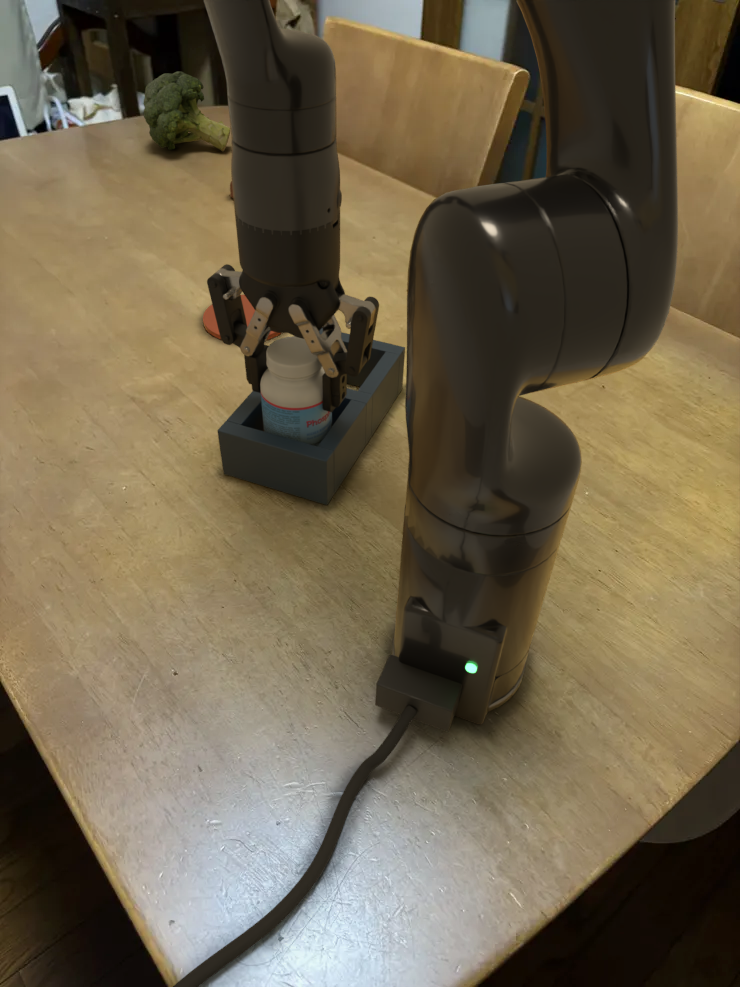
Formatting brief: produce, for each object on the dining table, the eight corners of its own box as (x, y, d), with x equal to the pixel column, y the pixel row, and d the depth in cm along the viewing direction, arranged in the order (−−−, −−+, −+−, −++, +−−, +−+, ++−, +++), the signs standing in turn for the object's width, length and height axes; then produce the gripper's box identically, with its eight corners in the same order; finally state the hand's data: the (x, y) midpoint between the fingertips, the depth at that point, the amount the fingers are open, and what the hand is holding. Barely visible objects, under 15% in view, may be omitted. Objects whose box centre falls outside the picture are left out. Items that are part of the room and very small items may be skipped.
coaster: (265, 351, 82) (265, 346, 82) (186, 331, 84) (185, 326, 84) (305, 309, 89) (305, 304, 88) (230, 292, 91) (230, 287, 91)
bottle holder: (327, 505, 65) (326, 461, 61) (223, 474, 67) (216, 430, 64) (402, 388, 77) (405, 347, 74) (312, 366, 80) (311, 324, 77)
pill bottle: (323, 481, 67) (321, 375, 59) (257, 471, 68) (246, 365, 60) (339, 439, 71) (338, 336, 63) (277, 430, 72) (269, 327, 64)
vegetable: (214, 155, 119) (124, 104, 115) (210, 189, 131) (129, 143, 128) (247, 92, 120) (160, 39, 117) (240, 131, 133) (161, 84, 129)
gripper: (171, 205, 53) (201, 400, 64) (360, 244, 49) (356, 443, 60) (225, 170, 58) (244, 356, 69) (400, 202, 54) (389, 393, 66)
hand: (296, 396), depth 65 cm, fingers closed on pill bottle, 6 cm apart
